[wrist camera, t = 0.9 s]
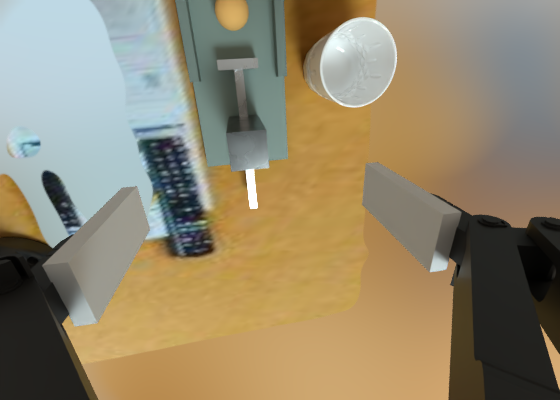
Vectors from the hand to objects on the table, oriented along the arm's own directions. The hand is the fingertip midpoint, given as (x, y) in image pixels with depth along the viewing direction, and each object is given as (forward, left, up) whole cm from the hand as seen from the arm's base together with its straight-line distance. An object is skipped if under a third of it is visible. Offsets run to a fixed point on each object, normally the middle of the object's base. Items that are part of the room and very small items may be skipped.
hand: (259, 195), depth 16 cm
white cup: (+12, +7, -24) cm, 27 cm away
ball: (0, +13, -20) cm, 23 cm away
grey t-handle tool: (0, -1, -21) cm, 21 cm away
